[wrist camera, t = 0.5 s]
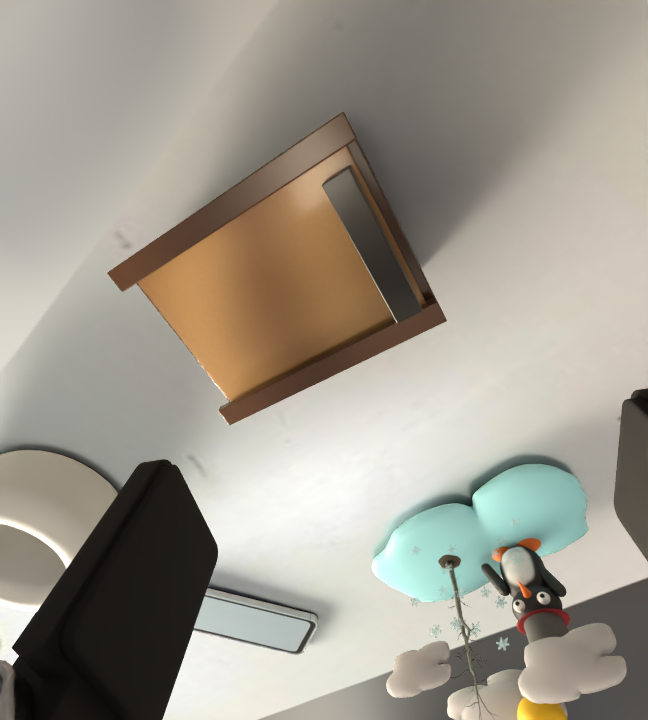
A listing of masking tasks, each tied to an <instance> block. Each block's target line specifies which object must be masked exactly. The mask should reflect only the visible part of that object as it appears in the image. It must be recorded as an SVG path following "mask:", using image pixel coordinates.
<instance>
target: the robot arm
mask: <svg viewBox="0 0 648 720" xmlns="http://www.w3.org/2000/svg"><path fill="white" fill-rule="evenodd" d="M614 507H615V511H616V514H617V516H618V518H619V520H620V522H621V523H622V525H623V526H624V528H625V529H626V531H627V532H628V533H629V535H630V536H631V538H632V539H633V541H634V542H635V544H636V545H637V546H638V548H639V549H640V551H641V552H642V554H643V555H644V557H645V558H646V560H647V561H648V389H641V390H636V391H634V392H633V394H632V395H631V399H627V400H625V401H624V402H623V405H622V414H621V425H620V437H619V448H618V459H617V471H616V482H615V493H614ZM217 558H218V548H217V544H216V542H215V540H214V538H213V536H212V534H211V532H210V530H209V528H208V526H207V524H206V522H205V520H204V518H203V516H202V514H201V512H200V510H199V508H198V506H197V504H196V502H195V500H194V498H193V496H192V494H191V492H190V490H189V488H188V486H187V484H186V482H185V480H184V478H183V476H182V474H181V472H180V470H179V468H178V467H177V466H176V465H172V464H171V462H170V461H168V460H165V459H163V460H157V461H150V462H143V463H141V464H139V465H138V466H137V467H136V469H135V470H134V472H133V473H132V475H131V476H130V478H129V479H128V480H127V482H126V483H125V485H124V486H123V488H122V489H121V491H120V492H119V493H118V495H117V496H116V498H115V499H114V501H113V502H112V504H111V505H110V506H109V508H108V509H107V511H106V512H105V514H104V515H103V517H102V518H101V519H100V521H99V522H98V524H97V525H96V527H95V528H94V530H93V531H92V532H91V534H90V535H89V537H88V538H87V540H86V541H85V543H84V544H83V545H82V547H81V548H80V550H79V551H78V553H77V554H76V556H75V557H74V559H73V560H72V561H71V563H70V564H69V566H68V567H67V569H66V570H65V572H64V573H63V574H62V576H61V577H60V579H59V580H58V582H57V583H56V585H55V586H54V587H53V589H52V590H51V592H50V593H49V595H48V596H47V598H46V599H45V600H44V602H43V603H42V605H41V606H40V608H39V609H38V611H37V612H36V613H35V615H34V616H33V618H32V619H31V621H30V622H29V624H28V625H27V627H26V628H25V629H24V631H23V632H22V634H21V635H20V637H19V638H18V640H17V641H16V642H15V644H14V645H13V647H12V649H13V650H14V651H15V652H16V653H17V654H18V655H19V657H18V658H17V660H16V661H15V663H14V664H13V666H11V665H10V664H9V663H7V662H6V661H2V660H0V720H162V719H163V716H164V713H165V710H166V707H167V704H168V702H169V699H170V696H171V693H172V690H173V687H174V684H175V681H176V678H177V675H178V672H179V670H180V667H181V664H182V661H183V658H184V655H185V652H186V649H187V646H188V643H189V640H190V638H191V635H192V632H193V629H194V626H195V623H196V620H197V617H198V614H199V611H200V608H201V606H202V603H203V600H204V597H205V594H206V591H207V588H208V585H209V582H210V579H211V576H212V574H213V571H214V568H215V565H216V562H217Z"/></svg>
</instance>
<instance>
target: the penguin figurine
mask: <svg viewBox="0 0 648 720" xmlns="http://www.w3.org/2000/svg"><path fill="white" fill-rule="evenodd" d="M472 501H473V506H467V505H464V504H459V503H451V504H445V505H441V506H437V507H434V508H431V509H428V510H425V511H423V512H421V513H419V514H417V515H415V516H413V517H411V518H410V519H408V520H406V521H405V522H404V523H402V524H401V525H400V526H399V527H398V528H397V529H396V530H395V531H394V532H393V533H392V535H391V537H390V540H389V541H388V543H387V545H386V548H385V549H383V550H382V551H381V552H380V553H379V554H378V555H377V556H376V557H375V558H374V561H373V565H372V568H373V572H374V573H375V574H376V576H377V577H378V578H379V579H381V580H382V581H383V582H385V583H386V584H387V585H389V586H391V587H393V588H395V589H397V590H399V591H401V592H403V593H405V594H407V595H410V596H411V597H413V598H414V599H415V601H412V600H411V601H412V602H414V603H415V605H417V601H420V602H421V601H423V602H436V601H443V600H448V599H453V598H455V601H456V608H457V613H458V622H459V624H458V622H457V620H454V623H452V622H451V623H450V624H452V625H453V624H454V625H455V622H456V623H457V625H458V626H457V625H455V626H456V627H457V628H456V627H455V626H454V627H455V628H456V629H457V630H459V629H460V628H458V627H461V631H462V632H461V633H462V636H463V637H464V641H465V647H466V651H465V652H467V655H468V660H469V666H470V671H471V672H472V673H473V675H474V681H475V686H471V687H467V688H464V689H462V690H459V691H457V692H455V693H453V694H452V695H451V696H450V697H449V698H448V709H447V712H448V715H449V716H450V717H451V718H453V719H455V720H567V715H568V714H567V710H566V707H565V704H564V702H568V701H572V700H575V699H578V698H579V697H580V694H581V693H583V694H587V693H593V692H597V691H600V690H603V689H606V688H608V687H611V686H614V685H617V684H619V683H620V682H621V681H622V680H623V679H624V677H625V675H626V663H625V661H624V659H623V657H620V656H606V655H608V654H610V653H611V652H612V651H613V650H614V649H615V647H616V638H615V636H614V634H613V632H612V630H611V628H610V627H609V626H608V625H606V624H602V623H595V624H589V625H585V626H582V627H579V628H576V629H574V630H571V631H570V632H569V631H568V629H567V625H568V624H569V622H570V617H569V615H568V614H567V613H566V612H564V611H562V603H561V600H560V598H559V597H564V596H565V595H566V589H565V587H564V586H563V585H562V584H561V583H560V582H559V581H558V580H557V579H556V578H555V577H554V576H553V575H552V574H551V573H550V572H549V571H548V570H547V569H546V568H545V566H544V564H543V562H542V560H541V558H540V557H543V556H546V555H550V554H553V553H555V552H557V551H560V550H562V549H563V548H565V547H567V546H568V545H570V544H572V543H573V542H575V541H576V540H578V539H579V538H581V537H582V536H583V535H585V533H586V532H587V531H588V526H587V523H586V517H585V509H586V505H587V497H586V493H585V491H584V490H583V489H582V487H581V486H580V482H579V480H578V479H577V478H576V477H574V476H573V475H571V474H570V473H567V472H565V471H562V470H561V469H559V468H557V467H554V466H550V465H544V464H525V465H521V466H516V467H514V468H511V469H508V470H506V471H504V472H502V473H501V474H499V475H497V476H496V477H494V478H493V479H491V480H490V481H488V482H487V483H486V484H485V485H483V486H482V487H481V488H479V489H478V490H477V491H476V492H475V493H474V495H473V498H472ZM501 574H502V577H503V580H504V581H503V580H502V578H501V577H500V576H499V575H501ZM488 582H491V583H492V584H493V585H494V587H495V588H496V589H497V590H498V591H499V593H500V594H501V595H503V596H507V595H509V593H510V595H511V596H512V597H513V598H514V599H513V602H512V610H513V613H514V615H515V617H516V618H517V620H518V622H517V629H518V630H519V631H520V632H521V633H523V634H525V635H527V638H528V641H529V645H527V646H526V648H525V649H524V652H525V655H524V659H525V664H526V668H524V670H523V671H520V670H513V669H510V670H504V671H501V672H498V673H496V674H494V675H491V676H490V677H488V679H487V683H488V686H482V685H477V683H478V682H477V681H476V674H475V671H474V669H473V665H472V661H473V660H477V659H472V660H471V656H470V651H469V648H470V647H469V644H468V640H469V636H471V635H472V634H474V633H473V632H475V631H479V632H480V630H479V629H478V626H476V628H474V626H473V629H469V627H468V626H467V625H466V624H465V622H464V620H463V617H462V611H461V605H460V597H459V596H462V595H463V596H464V595H465V594H468V593H470V592H472V591H474V590H476V589H478V588H480V587H482V586H483V585H485V584H486V583H488ZM484 589H485V587H484ZM488 589H490V588H489V587H488ZM481 591H482V590H481ZM484 592H486V595H488V594H487V593H488V590H486V589H485V591H482V593H484ZM490 593H491V591H490ZM484 594H485V593H484ZM484 594H483V595H484ZM463 596H462V597H461V598H463ZM484 596H485V595H484ZM558 596H559V597H558ZM482 597H483V596H482ZM486 597H487V596H486ZM498 598H499V600H500V597H499V596H498ZM503 598H504V599H505V597H503ZM503 598H502V599H503ZM416 599H417V600H416ZM504 599H503V600H500V601H499V600H497V601H499V602H500V603H499V602H497V601H495V602H497V603H498V604H500V605H503V604H506V603H507V602H505V601H504ZM502 601H503V602H502ZM414 603H413V604H414ZM502 603H503V604H502ZM451 604H452V603H451ZM498 604H497V605H498ZM464 605H465V604H464ZM417 606H418V605H417ZM417 606H416V607H417ZM465 606H466V605H465ZM498 606H499V605H498ZM498 606H497V607H498ZM453 607H454V606H453ZM448 608H449V607H448ZM450 608H452V607H450ZM502 608H503V606H502ZM454 618H455V617H454ZM478 623H479V622H478ZM472 624H473V623H472ZM473 625H474V624H473ZM478 625H479V624H478ZM433 626H434V629H436V627H435V625H433ZM437 627H440V625H438V626H437ZM452 627H453V626H452ZM454 627H453V628H454ZM465 627H466V628H467V630H468V635H467V636H466V634H465ZM455 628H454V629H455ZM434 629H432V631H431V630H430V631H431V632H432V635H433V633H435V634H436V633H437V632H441V630H440V631H438V630H439V629H438V628H437V629H436V631H435V630H434ZM475 629H476V630H475ZM477 629H478V630H477ZM457 630H456V631H457ZM472 630H473V632H472V634H470V631H472ZM474 630H475V631H474ZM457 632H458V631H457ZM461 633H460V634H461ZM460 634H459V635H460ZM432 635H431V636H432ZM474 635H475V636H477V635H476V632H475V634H474ZM435 637H436V636H435ZM436 638H437V637H436ZM458 639H459V638H458ZM500 639H501V638H500ZM506 640H507V639H506ZM506 640H505V641H506ZM471 641H474V640H471ZM505 641H504V642H503V641H502V640H501V641H500V644H502V643H501V642H503V643H504V645H503V644H502V645H503V647H504V646H505V645H507V644H506V642H505ZM497 644H498V643H497ZM502 645H501V646H502ZM508 645H509V644H508ZM501 646H500V647H501ZM465 647H464V649H465ZM504 648H505V647H504ZM470 649H471V648H470ZM471 650H472V649H471ZM505 650H506V649H505ZM465 652H464V653H465ZM449 654H450V651H449V646H448V643H446V642H445V641H437V642H433V643H431V644H428V645H426V646H424V647H423V648H421V649H420V650H411V651H407V652H404V653H402V654H400V655H398V656H397V657H396V659H395V662H394V672H393V673H392V674H391V676H390V677H389V678H388V681H387V691H388V692H389V693H390V694H391V695H392V696H393V697H397V698H398V697H403V698H404V697H411V696H415V695H417V694H420V693H421V691H422V690H430V689H432V688H435V687H438V686H440V685H442V684H444V683H446V681H447V680H448V679H449V678H450V674H451V668H450V665H448V664H447V665H444V664H443V663H444V662H446V661H447V660H448V658H449ZM462 654H463V653H461V655H462ZM458 657H459V656H458ZM475 658H476V657H475ZM464 672H465V671H464ZM464 672H463V673H464ZM461 675H462V674H461ZM459 676H460V675H459ZM473 683H474V682H473ZM479 684H483V683H479ZM484 684H485V683H484ZM485 685H486V684H485Z"/></svg>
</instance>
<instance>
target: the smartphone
mask: <svg viewBox="0 0 648 720" xmlns="http://www.w3.org/2000/svg"><path fill="white" fill-rule="evenodd" d="M317 626H318V618H317V617H316V616H315V615H314V614H311V613H307V612H303V611H299V610H295V609H291V608H286V607H282V606H278V605H274V604H270V603H266V602H262V601H258V600H254V599H250V598H246V597H242V596H238V595H234V594H230V593H226V592H222V591H218V590H214V589H210V588H207V591H206V594H205V597H204V600H203V603H202V606H201V608H200V611H199V614H198V617H197V620H196V623H195V626H194V629H193V631H195V632H199V633H204V634H208V635H212V636H216V637H220V638H225V639H229V640H233V641H237V642H242V643H246V644H250V645H254V646H259V647H263V648H267V649H271V650H276V651H280V652H284V653H288V654H293V655H299V654H302V653H303V652H304V650H305V648H306V646H307V645H308V643H309V641H310V639H311V637H312V636H313V634H314V632H315V630H316V628H317Z"/></svg>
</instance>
